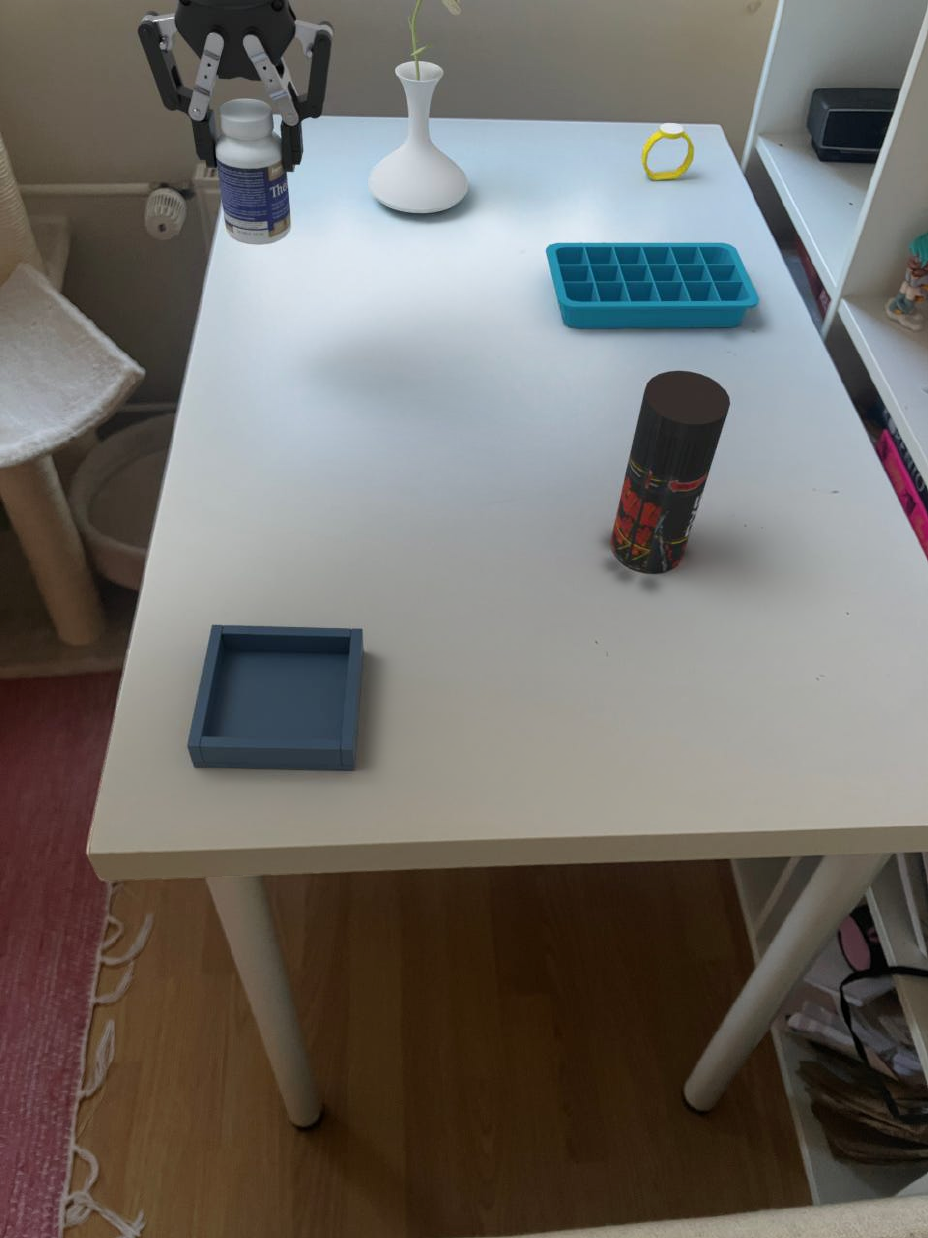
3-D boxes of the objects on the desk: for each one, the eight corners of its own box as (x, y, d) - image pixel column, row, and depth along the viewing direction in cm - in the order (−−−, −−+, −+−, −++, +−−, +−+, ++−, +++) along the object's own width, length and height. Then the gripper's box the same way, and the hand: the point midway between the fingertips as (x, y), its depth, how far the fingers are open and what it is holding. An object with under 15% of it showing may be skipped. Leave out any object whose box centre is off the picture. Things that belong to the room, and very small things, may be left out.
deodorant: (614, 514, 83) (648, 364, 72) (686, 527, 83) (731, 378, 71) (606, 566, 79) (640, 416, 68) (681, 579, 79) (728, 430, 67)
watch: (684, 171, 122) (695, 121, 117) (690, 182, 120) (701, 132, 116) (636, 172, 121) (645, 122, 117) (641, 183, 120) (651, 133, 115)
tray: (193, 767, 66) (186, 746, 64) (217, 646, 73) (211, 624, 71) (354, 771, 67) (352, 749, 65) (363, 650, 73) (362, 628, 71)
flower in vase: (467, 226, 112) (480, -30, 92) (364, 221, 111) (356, -36, 92) (468, 169, 120) (480, -76, 101) (372, 164, 120) (366, -82, 100)
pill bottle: (287, 248, 82) (276, 127, 74) (221, 245, 81) (203, 122, 74) (295, 215, 85) (285, 95, 78) (231, 211, 85) (216, 91, 77)
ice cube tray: (754, 331, 101) (762, 305, 99) (556, 333, 99) (560, 306, 97) (726, 268, 108) (733, 242, 106) (541, 268, 107) (544, 242, 104)
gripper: (100, -77, 63) (150, 184, 76) (328, -63, 64) (340, 193, 77) (125, -112, 68) (169, 139, 81) (337, -99, 69) (347, 148, 82)
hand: (252, 164), depth 79 cm, fingers closed on pill bottle, 5 cm apart
